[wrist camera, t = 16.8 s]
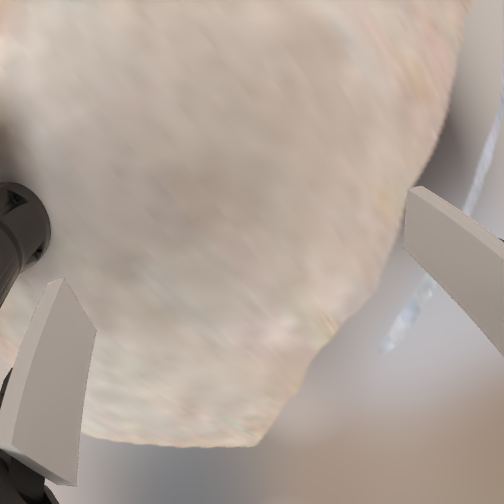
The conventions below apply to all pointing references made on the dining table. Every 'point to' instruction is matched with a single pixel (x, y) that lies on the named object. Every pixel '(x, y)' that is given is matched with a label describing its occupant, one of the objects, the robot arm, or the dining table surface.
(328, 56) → the dining table surface
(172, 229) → the dining table surface
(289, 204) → the dining table surface
